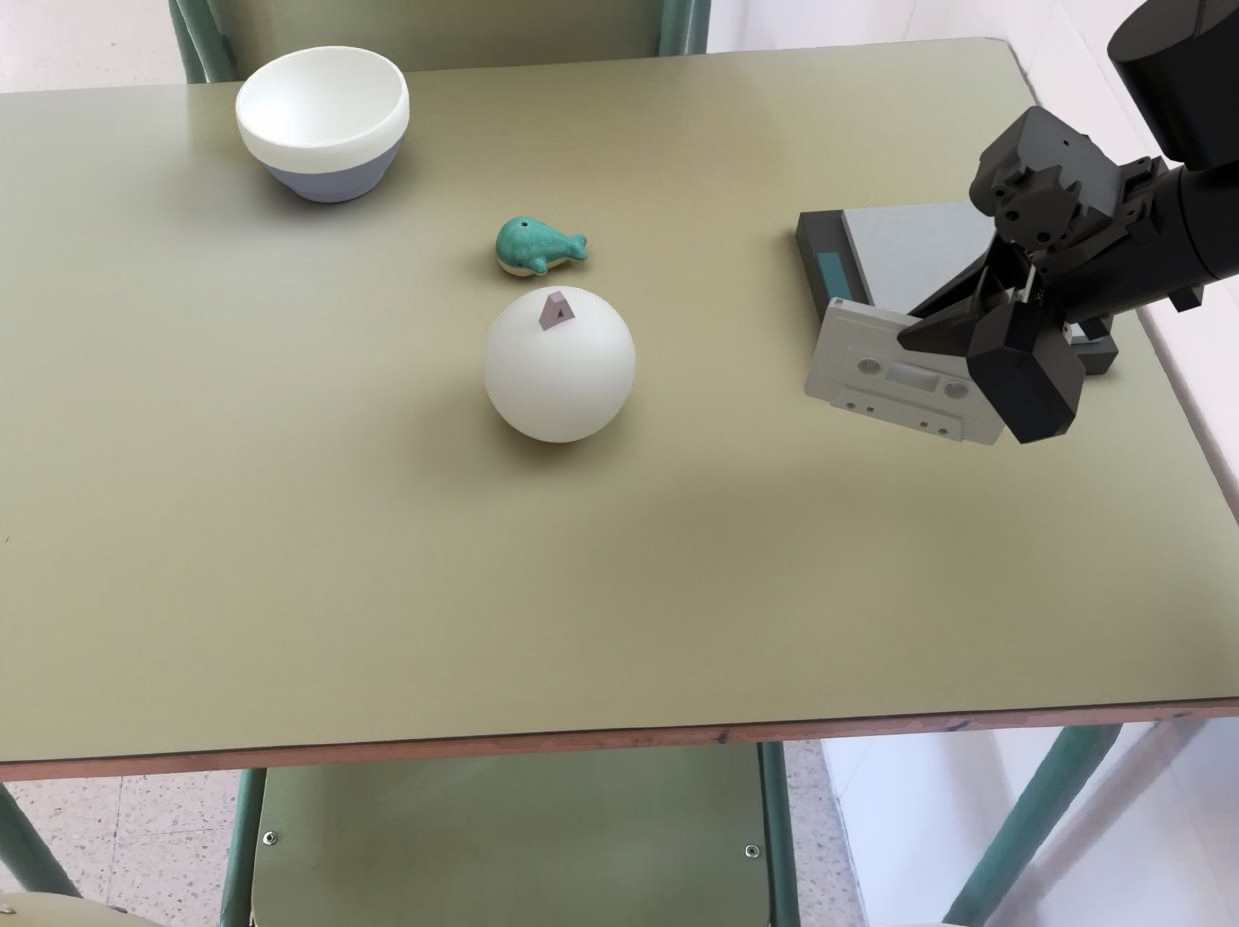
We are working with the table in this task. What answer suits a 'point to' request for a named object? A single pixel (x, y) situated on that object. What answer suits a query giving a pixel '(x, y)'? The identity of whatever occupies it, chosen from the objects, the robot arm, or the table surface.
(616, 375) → the ornament
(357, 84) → the bowl
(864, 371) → the cassette
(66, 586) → the table surface
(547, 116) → the table surface
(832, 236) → the scale
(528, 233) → the whale figurine
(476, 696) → the table surface
